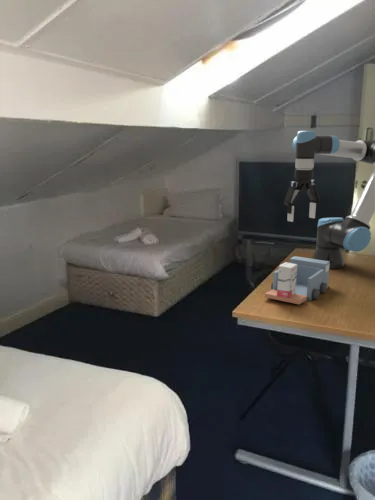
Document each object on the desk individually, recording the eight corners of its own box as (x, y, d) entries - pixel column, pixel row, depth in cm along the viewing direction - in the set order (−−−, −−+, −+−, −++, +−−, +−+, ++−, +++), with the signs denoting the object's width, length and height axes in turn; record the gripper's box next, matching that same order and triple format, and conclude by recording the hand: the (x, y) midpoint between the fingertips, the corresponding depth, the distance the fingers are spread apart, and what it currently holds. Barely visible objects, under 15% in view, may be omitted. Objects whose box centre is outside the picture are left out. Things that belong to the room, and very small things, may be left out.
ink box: (288, 298, 175) (290, 267, 173) (276, 296, 178) (278, 265, 175) (295, 293, 183) (298, 263, 180) (283, 291, 185) (285, 261, 183)
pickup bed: (289, 279, 207) (290, 255, 204) (331, 287, 196) (333, 262, 194) (268, 293, 190) (269, 266, 187) (313, 302, 180) (315, 274, 177)
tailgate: (273, 289, 187) (264, 293, 181) (307, 295, 179) (299, 300, 173) (272, 293, 188) (264, 298, 181) (306, 300, 180) (299, 305, 174)
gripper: (316, 167, 205) (313, 215, 211) (276, 169, 191) (274, 221, 197) (331, 168, 199) (327, 217, 205) (290, 171, 185) (287, 224, 191)
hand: (301, 219), depth 201 cm, fingers open, 13 cm apart
